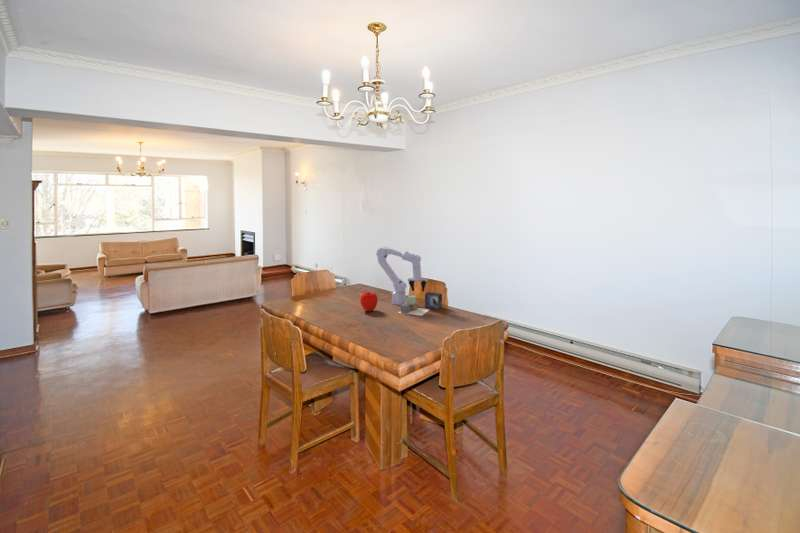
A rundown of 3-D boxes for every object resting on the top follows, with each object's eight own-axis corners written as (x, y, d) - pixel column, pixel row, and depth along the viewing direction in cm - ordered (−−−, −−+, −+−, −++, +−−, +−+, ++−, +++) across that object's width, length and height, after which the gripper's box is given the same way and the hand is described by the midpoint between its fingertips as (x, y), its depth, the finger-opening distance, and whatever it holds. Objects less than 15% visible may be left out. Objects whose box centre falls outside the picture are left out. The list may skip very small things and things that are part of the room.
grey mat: (397, 313, 265) (397, 312, 265) (407, 307, 280) (407, 306, 280) (421, 316, 259) (421, 315, 258) (430, 310, 273) (430, 309, 273)
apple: (361, 314, 263) (360, 294, 261) (359, 309, 275) (359, 290, 272) (378, 313, 266) (378, 293, 263) (376, 308, 277) (376, 289, 275)
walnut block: (404, 309, 272) (404, 304, 271) (408, 307, 278) (408, 301, 278) (414, 311, 269) (414, 305, 268) (417, 308, 275) (418, 302, 275)
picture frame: (424, 308, 278) (424, 293, 276) (428, 305, 284) (428, 291, 282) (438, 310, 273) (438, 295, 272) (442, 307, 279) (442, 293, 277)
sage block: (406, 304, 272) (406, 296, 271) (409, 302, 276) (409, 295, 275) (413, 304, 270) (413, 297, 269) (416, 303, 274) (416, 296, 273)
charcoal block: (400, 312, 266) (400, 305, 265) (403, 310, 270) (403, 303, 269) (407, 313, 264) (407, 306, 263) (410, 311, 268) (410, 304, 267)
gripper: (405, 273, 281) (406, 292, 283) (424, 273, 274) (425, 292, 276) (409, 271, 287) (410, 290, 289) (428, 271, 281) (429, 290, 282)
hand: (418, 291), depth 283 cm, fingers open, 7 cm apart
